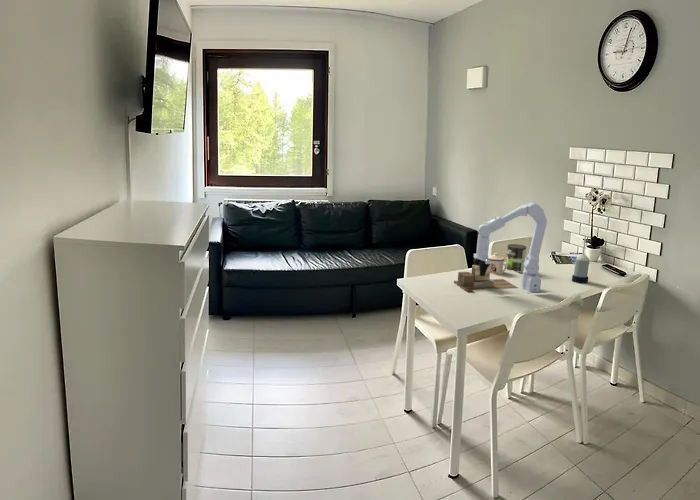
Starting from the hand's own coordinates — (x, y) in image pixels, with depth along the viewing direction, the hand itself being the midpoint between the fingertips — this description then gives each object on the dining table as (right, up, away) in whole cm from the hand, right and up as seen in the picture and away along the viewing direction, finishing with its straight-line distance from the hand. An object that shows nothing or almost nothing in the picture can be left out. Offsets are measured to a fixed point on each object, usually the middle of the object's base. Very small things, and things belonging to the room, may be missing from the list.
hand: (480, 274), depth 276 cm
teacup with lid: (+15, -1, +26) cm, 30 cm away
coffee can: (+28, +1, +36) cm, 46 cm away
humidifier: (+57, -5, +17) cm, 60 cm away
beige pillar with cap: (0, -2, +1) cm, 3 cm away
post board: (+3, -6, +2) cm, 7 cm away
